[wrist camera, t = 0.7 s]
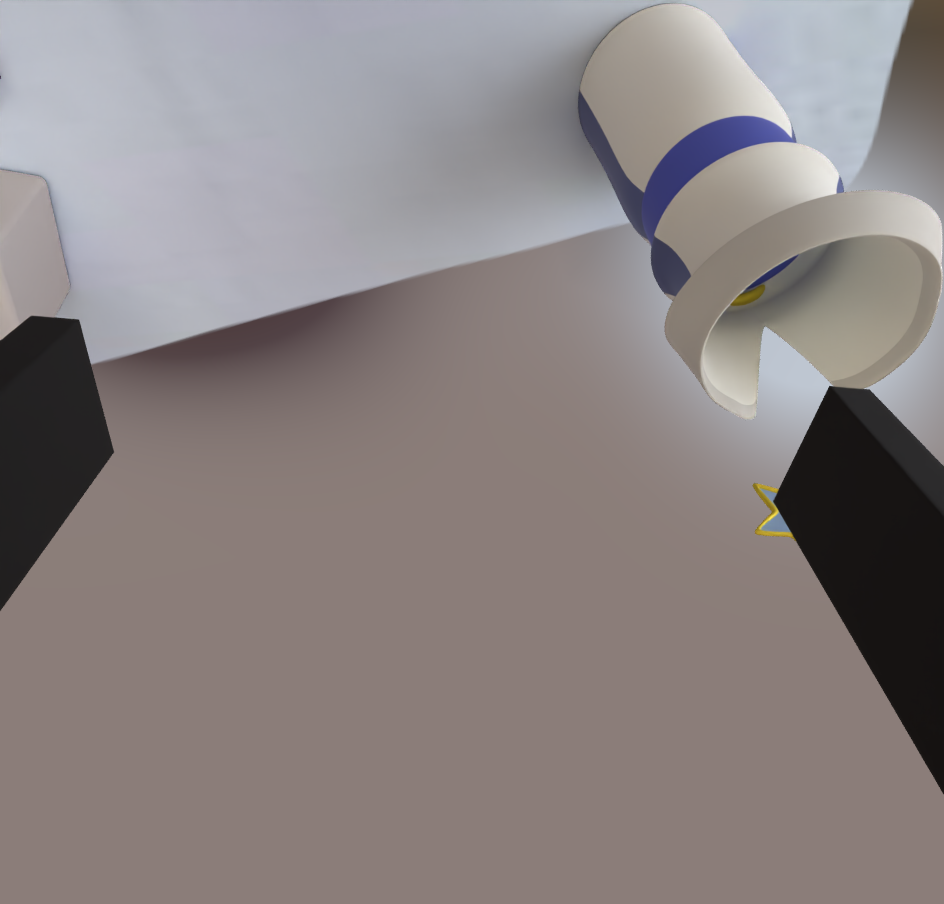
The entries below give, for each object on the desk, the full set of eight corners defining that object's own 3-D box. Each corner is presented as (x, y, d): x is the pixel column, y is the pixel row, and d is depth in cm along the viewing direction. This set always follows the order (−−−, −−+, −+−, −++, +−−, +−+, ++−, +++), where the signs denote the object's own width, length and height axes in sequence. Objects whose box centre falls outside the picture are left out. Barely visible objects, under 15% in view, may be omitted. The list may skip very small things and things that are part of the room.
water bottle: (747, 139, 36) (1043, 523, 19) (592, 194, 37) (745, 589, 21) (743, -35, 30) (1169, 313, 13) (558, 41, 31) (736, 430, 15)
